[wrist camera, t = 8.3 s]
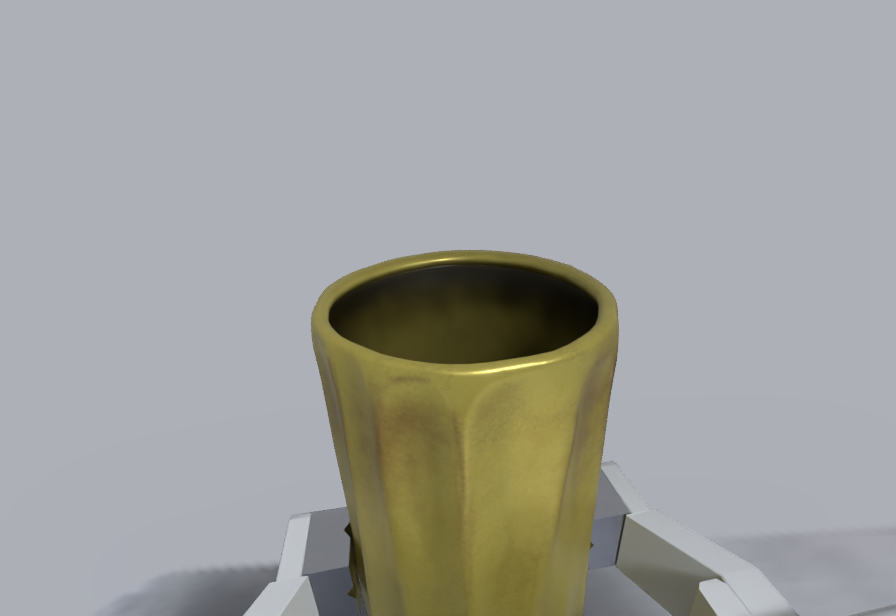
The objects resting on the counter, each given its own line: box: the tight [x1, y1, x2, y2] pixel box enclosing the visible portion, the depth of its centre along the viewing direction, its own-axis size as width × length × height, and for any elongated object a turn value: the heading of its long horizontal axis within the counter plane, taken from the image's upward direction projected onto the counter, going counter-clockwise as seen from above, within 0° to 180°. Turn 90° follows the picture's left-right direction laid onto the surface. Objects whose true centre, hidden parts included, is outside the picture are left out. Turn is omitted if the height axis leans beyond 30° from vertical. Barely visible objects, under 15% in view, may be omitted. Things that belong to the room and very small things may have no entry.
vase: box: [311, 250, 619, 616], centre depth 10 cm, size 6×6×14 cm
